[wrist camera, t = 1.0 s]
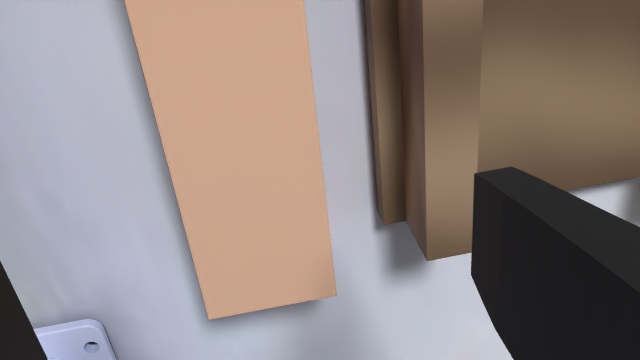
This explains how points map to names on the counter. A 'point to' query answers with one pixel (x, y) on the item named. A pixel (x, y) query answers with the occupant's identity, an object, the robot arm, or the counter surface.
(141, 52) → the clay strip
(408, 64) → the brown wooden stand
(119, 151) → the counter surface
